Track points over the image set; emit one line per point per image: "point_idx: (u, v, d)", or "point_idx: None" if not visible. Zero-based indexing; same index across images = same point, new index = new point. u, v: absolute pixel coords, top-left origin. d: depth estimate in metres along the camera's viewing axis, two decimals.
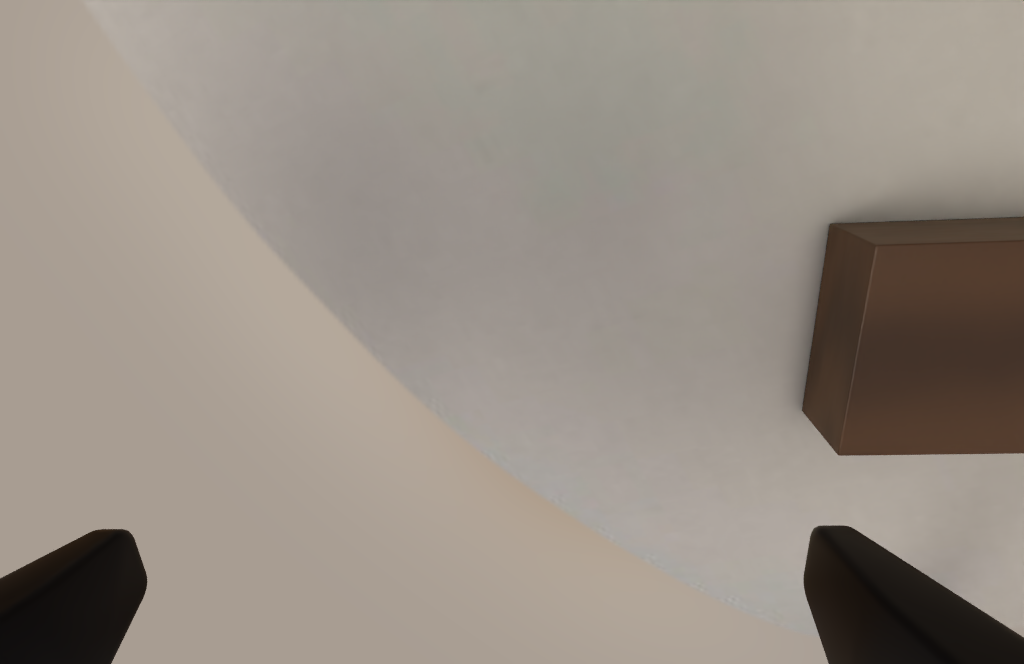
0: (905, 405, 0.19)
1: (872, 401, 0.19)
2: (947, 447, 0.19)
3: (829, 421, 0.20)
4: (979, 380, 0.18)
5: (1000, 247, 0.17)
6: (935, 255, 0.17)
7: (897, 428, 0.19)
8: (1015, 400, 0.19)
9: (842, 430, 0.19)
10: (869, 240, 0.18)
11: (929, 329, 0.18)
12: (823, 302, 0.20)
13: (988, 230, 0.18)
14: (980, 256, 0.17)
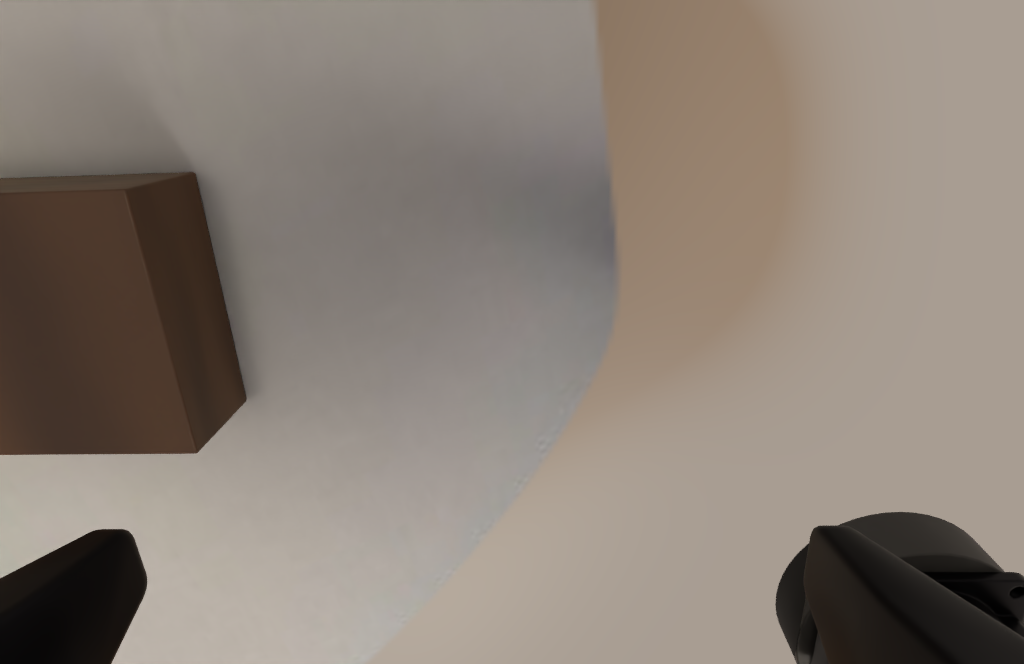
0: (112, 396, 0.16)
1: (116, 430, 0.16)
2: (154, 338, 0.15)
3: None
4: (57, 323, 0.15)
5: None
6: None
7: (144, 399, 0.16)
8: (69, 276, 0.14)
9: (166, 450, 0.16)
10: None
11: (15, 390, 0.16)
12: None
13: None
14: None
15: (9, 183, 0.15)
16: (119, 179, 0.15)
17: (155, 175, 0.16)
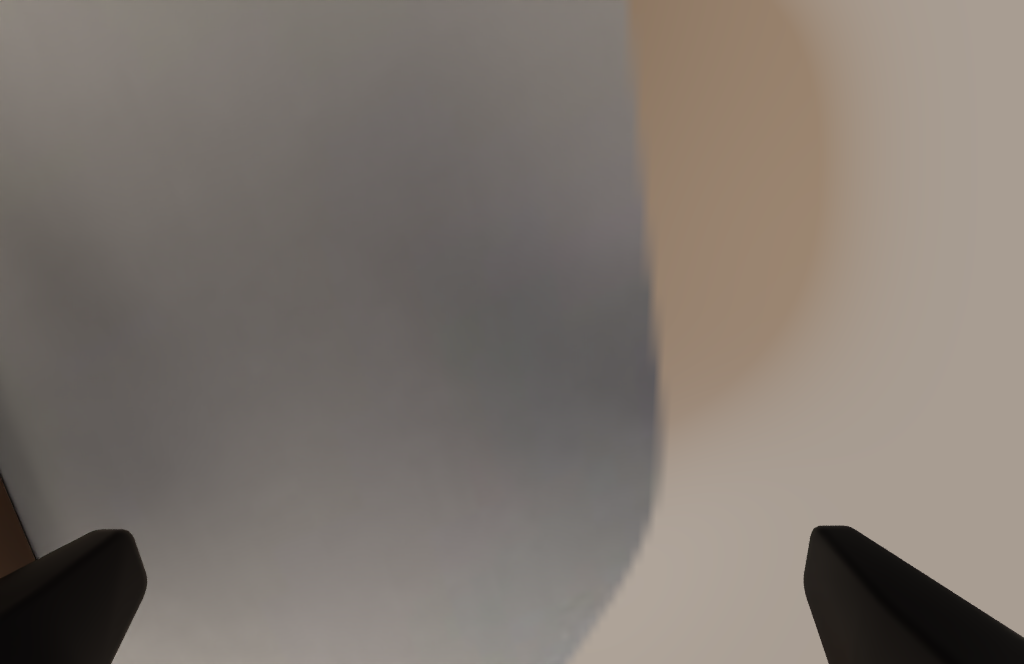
0: None
1: None
2: None
3: None
4: None
5: None
6: None
7: None
8: None
9: None
10: None
11: None
12: None
13: None
14: None
15: None
16: None
17: None
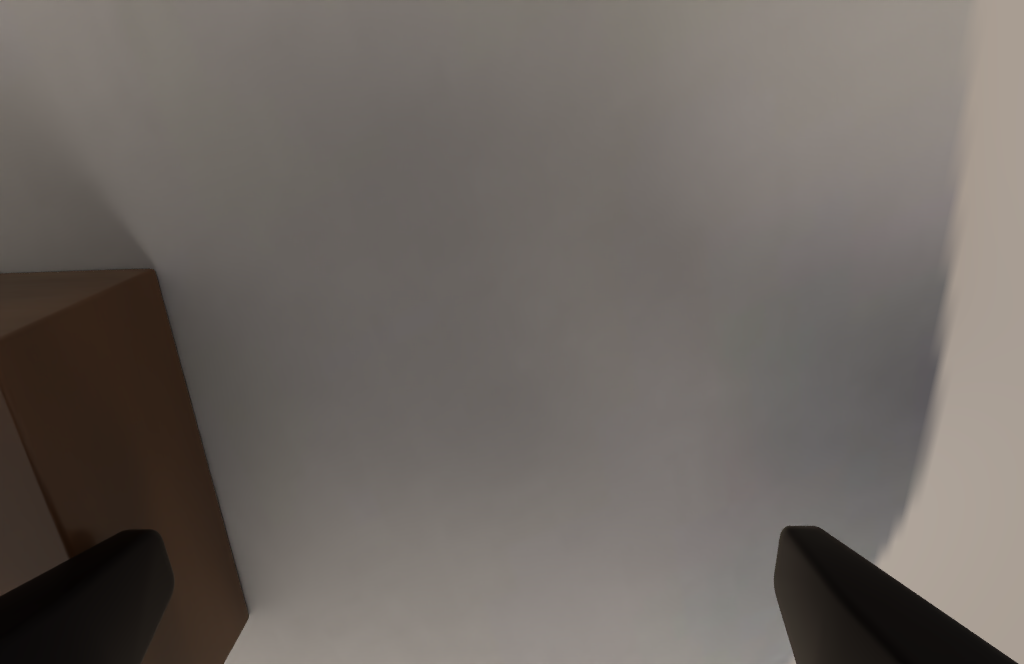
0: None
1: None
2: None
3: None
4: None
5: None
6: None
7: None
8: None
9: None
10: None
11: None
12: None
13: None
14: None
15: None
16: (6, 294, 0.08)
17: (79, 279, 0.09)
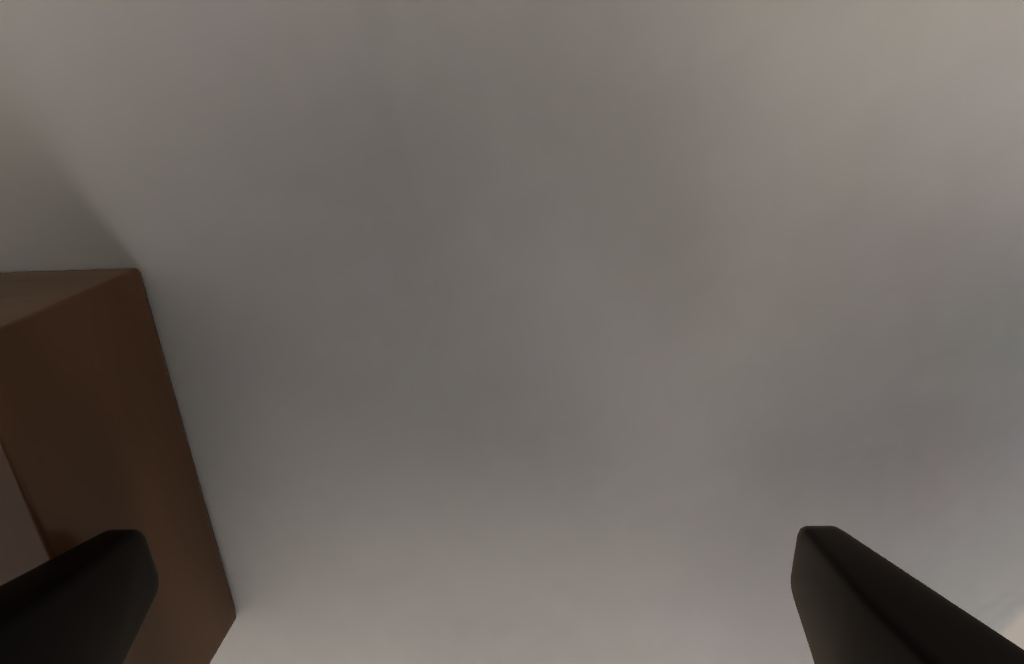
0: None
1: None
2: None
3: None
4: None
5: None
6: None
7: None
8: None
9: None
10: None
11: None
12: None
13: None
14: None
15: None
16: None
17: (63, 279, 0.09)
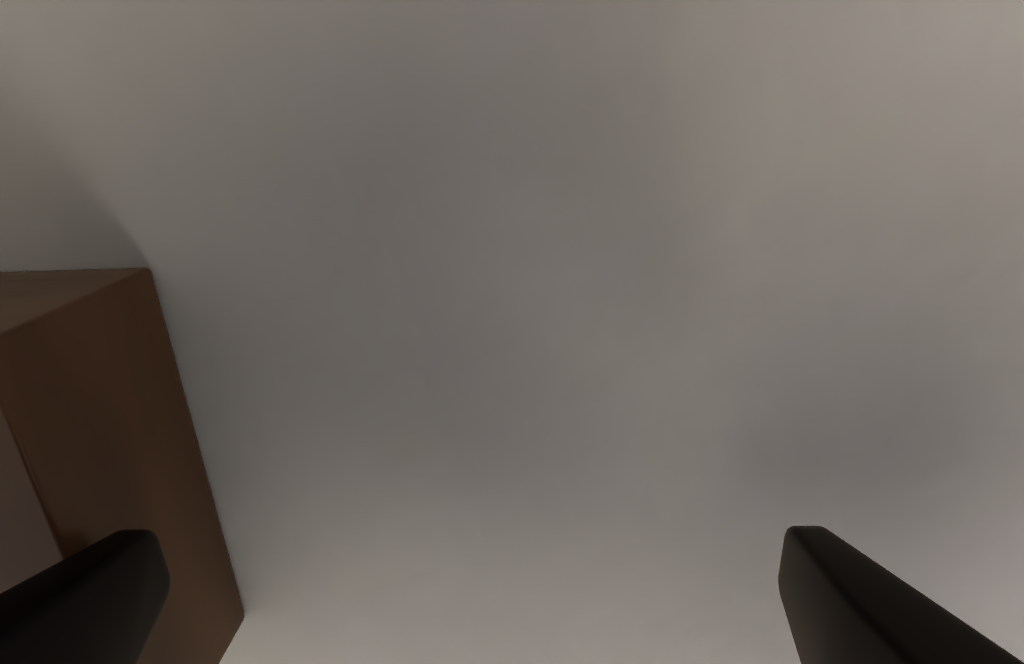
0: None
1: None
2: None
3: None
4: None
5: None
6: None
7: None
8: None
9: None
10: None
11: None
12: None
13: None
14: None
15: None
16: (0, 294, 0.08)
17: (74, 278, 0.09)
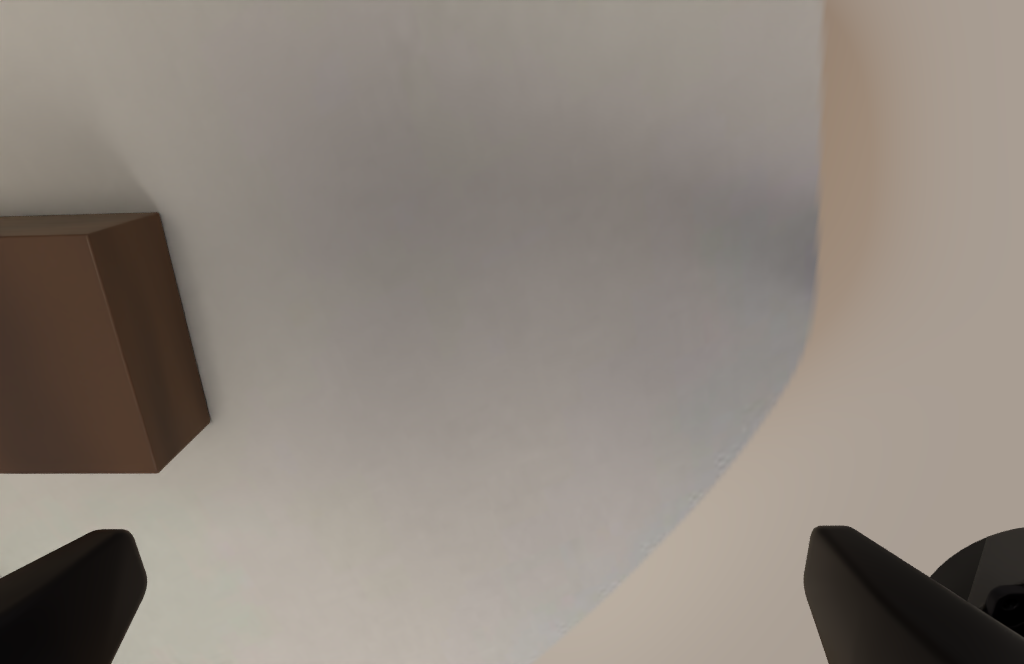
0: (79, 420, 0.17)
1: (83, 452, 0.17)
2: (116, 368, 0.16)
3: None
4: (27, 354, 0.16)
5: None
6: None
7: (108, 423, 0.17)
8: (37, 311, 0.16)
9: None
10: None
11: None
12: None
13: None
14: None
15: None
16: (86, 221, 0.17)
17: (121, 216, 0.17)
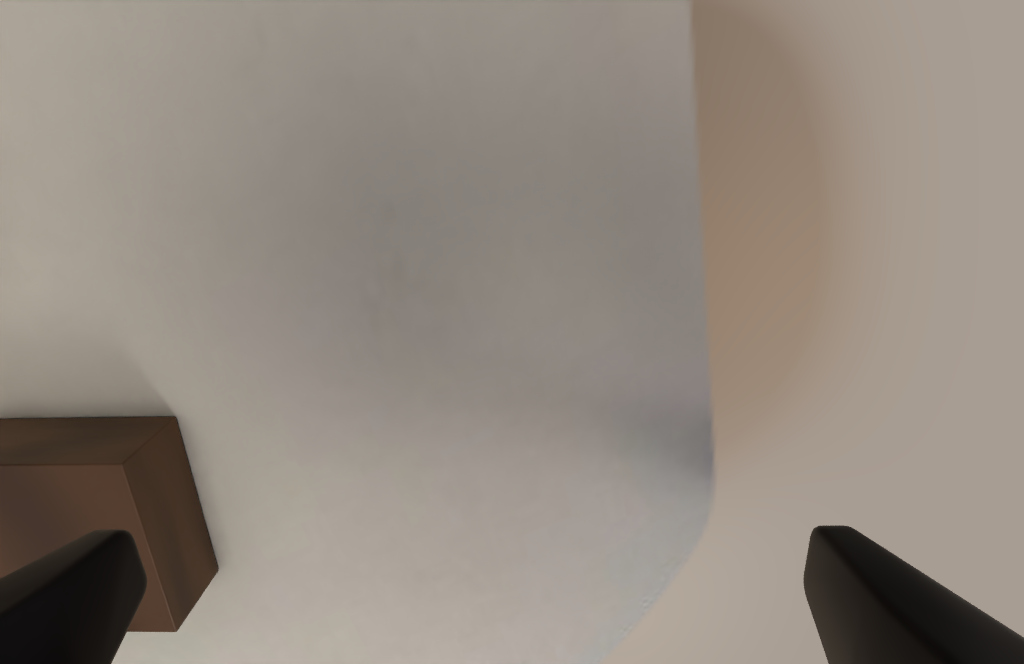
0: None
1: None
2: (143, 557, 0.20)
3: None
4: None
5: None
6: None
7: None
8: (80, 516, 0.20)
9: None
10: None
11: None
12: None
13: None
14: None
15: (35, 436, 0.21)
16: (117, 434, 0.20)
17: (145, 424, 0.21)
